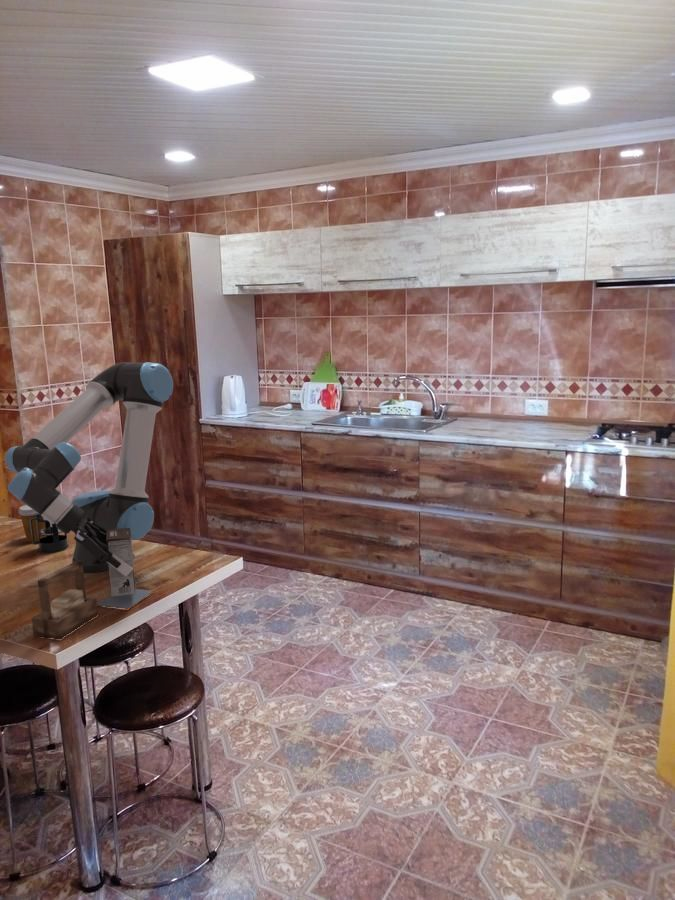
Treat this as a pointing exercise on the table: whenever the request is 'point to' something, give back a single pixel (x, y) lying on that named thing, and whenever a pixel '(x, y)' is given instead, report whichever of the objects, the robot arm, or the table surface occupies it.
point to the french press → (49, 537)
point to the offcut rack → (63, 605)
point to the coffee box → (122, 548)
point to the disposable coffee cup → (25, 517)
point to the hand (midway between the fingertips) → (131, 565)
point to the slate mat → (124, 599)
